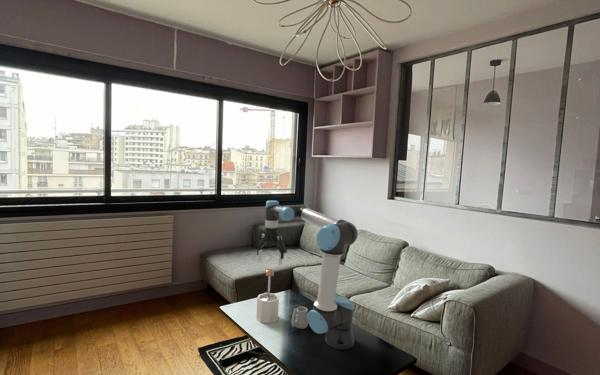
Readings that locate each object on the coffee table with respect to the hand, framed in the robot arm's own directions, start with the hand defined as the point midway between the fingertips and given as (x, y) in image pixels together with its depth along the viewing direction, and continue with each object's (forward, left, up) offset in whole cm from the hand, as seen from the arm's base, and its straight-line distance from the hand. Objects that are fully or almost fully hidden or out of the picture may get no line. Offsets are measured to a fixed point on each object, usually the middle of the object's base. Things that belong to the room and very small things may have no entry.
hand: (270, 262), depth 198 cm
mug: (-21, -7, -33) cm, 39 cm away
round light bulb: (-3, +2, -21) cm, 22 cm away
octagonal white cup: (-1, +2, -33) cm, 33 cm away
